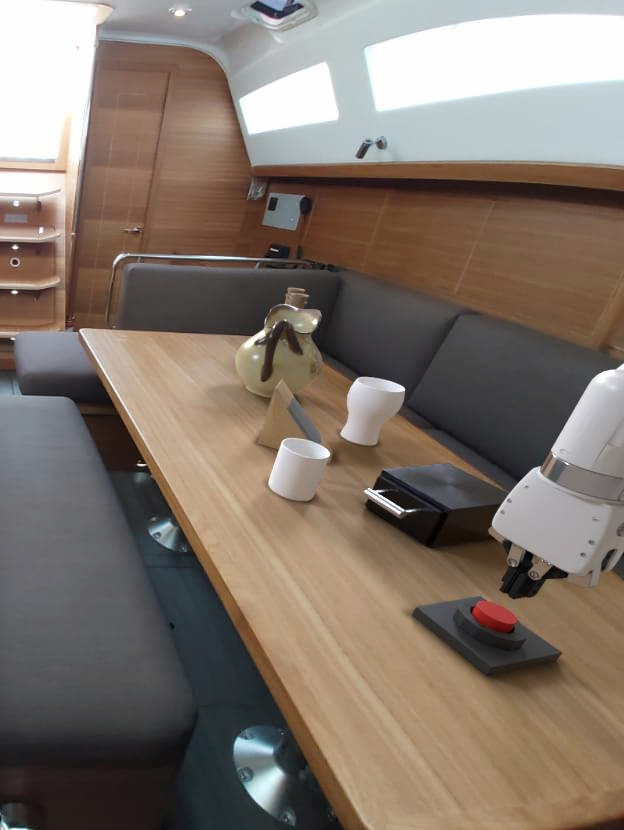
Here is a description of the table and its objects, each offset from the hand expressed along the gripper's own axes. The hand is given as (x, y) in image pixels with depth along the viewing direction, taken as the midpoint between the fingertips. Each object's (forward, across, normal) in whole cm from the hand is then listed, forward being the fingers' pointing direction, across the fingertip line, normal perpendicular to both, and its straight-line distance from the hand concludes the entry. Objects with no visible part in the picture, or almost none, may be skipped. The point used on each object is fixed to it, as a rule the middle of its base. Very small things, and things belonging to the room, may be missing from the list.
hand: (514, 593), depth 66 cm
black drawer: (+8, +23, -15) cm, 29 cm away
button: (+5, 0, +1) cm, 5 cm away
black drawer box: (+9, +23, -19) cm, 31 cm away
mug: (+9, +38, -1) cm, 39 cm away
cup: (+10, +54, -35) cm, 65 cm away
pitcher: (+9, +84, -34) cm, 91 cm away
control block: (+9, 0, +1) cm, 9 cm away
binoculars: (+10, +110, -58) cm, 124 cm away
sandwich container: (+9, +52, -15) cm, 55 cm away
